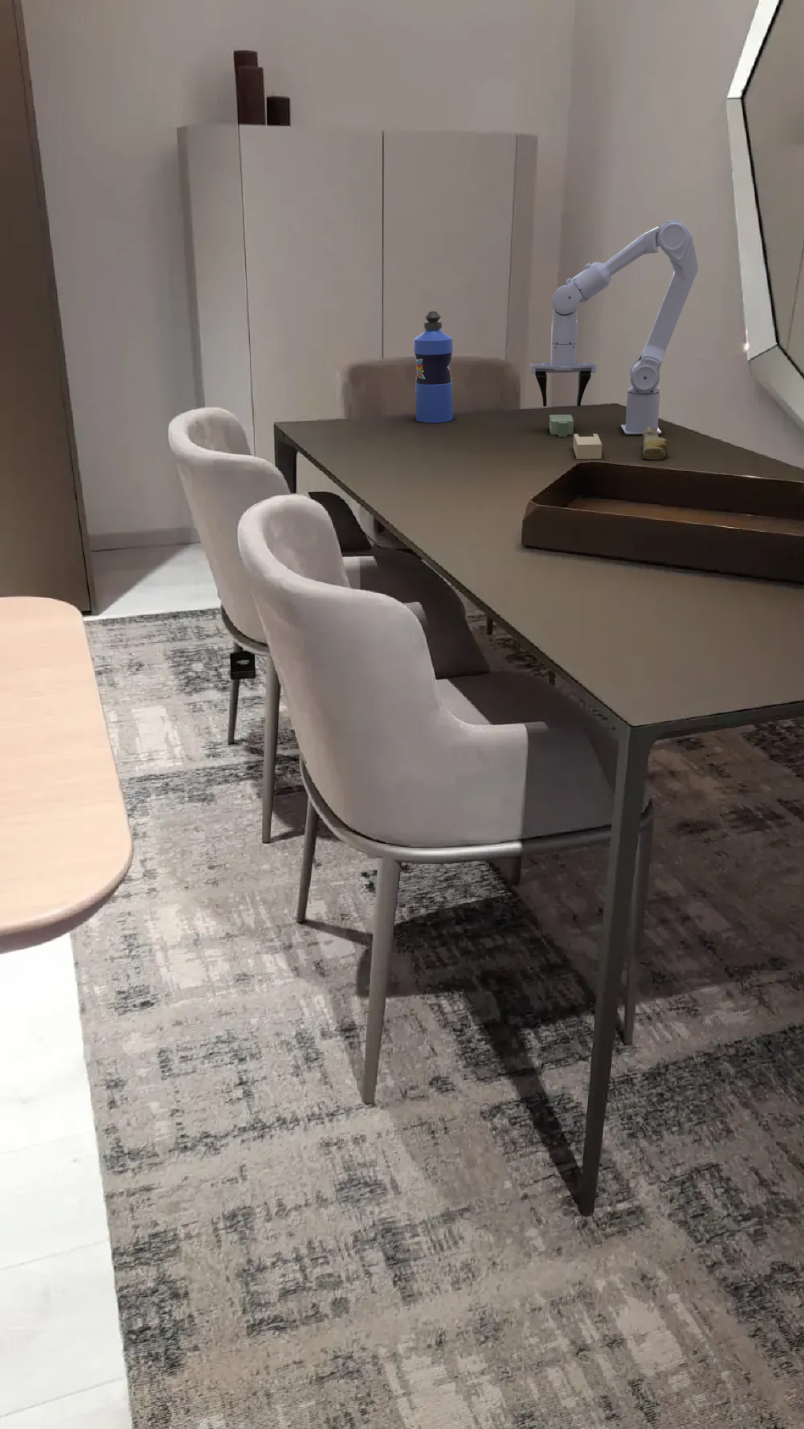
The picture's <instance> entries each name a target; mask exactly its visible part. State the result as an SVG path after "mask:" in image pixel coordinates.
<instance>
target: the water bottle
mask: <svg viewBox="0 0 804 1429" xmlns="http://www.w3.org/2000/svg"><path fill="white" fill-rule="evenodd" d="M441 318H442V316H441V315H440V314H439V313H438V311H434V310H433V311H428V313H427V314H426V315H425V316H424V319H425V320H426V321H423V330H424V332H423V333H421V334H419V335H418V336H416V337H415V338H413V353H414V358H415V367H416V375H415V384H414V385H415V388H414V390H415V391H414V392H415V393H414V394H415V421H417V422H418V423H425V424H426V423H428V424H439V423H446V422H447V423H448V422H450V421H452V420H453V419H454V418H453V417H454V416H453V410H454V408H453V378H452V371H451V368H452V357H453V352H454V344H453V343H454V339H453V337H452V336H450V335H448V334H446V333H444V332H443V331H442V328H443V322H442V321H441V320H440V319H441Z"/></svg>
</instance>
